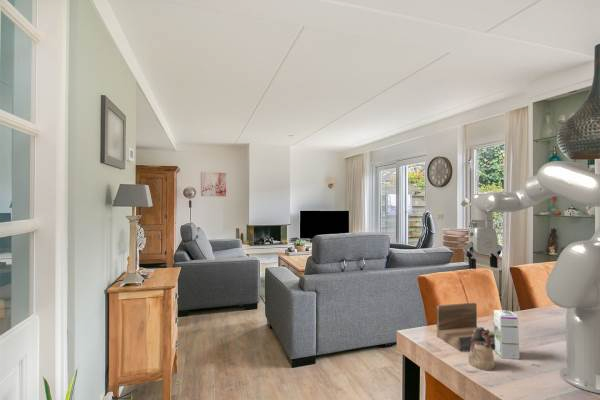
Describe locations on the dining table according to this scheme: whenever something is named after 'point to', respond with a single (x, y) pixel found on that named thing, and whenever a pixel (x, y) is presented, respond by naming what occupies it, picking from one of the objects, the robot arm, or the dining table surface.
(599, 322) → the robot arm
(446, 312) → the shelf
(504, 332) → the syrup box
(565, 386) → the dining table surface
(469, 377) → the dining table surface
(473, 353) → the figurine
